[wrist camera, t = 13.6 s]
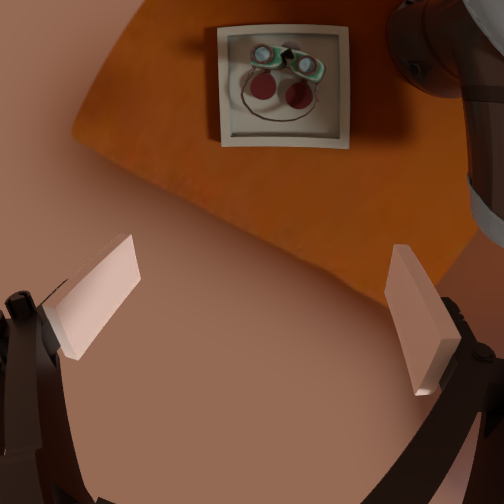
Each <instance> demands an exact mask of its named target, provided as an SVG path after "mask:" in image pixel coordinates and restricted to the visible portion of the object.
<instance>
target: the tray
mask: <svg viewBox="0 0 504 504" xmlns="http://www.w3.org/2000/svg"><path fill="white" fill-rule="evenodd" d="M217 40H218V73H219V100H220V123H221V145H222V147H231V146H292V147H320V148H339V149H349V137H350V56H349V32H348V27H343V26H330V25H310V24H268V25H247V26H234V27H223V28H217ZM288 41H292V42H293V41H294V42H295V43H298V44H299V47H300V48H301V49H300V50H301V52H305V53H308V54H310V55H312V56H316V58H318V59H319V60H321V61H322V62H323V63H324V65H325V66H326V71H325V76H324V77H323V79H322V80H321V82H319V85H318V94H317V96H318V100H319V102H318V100H317V102H316V105H315V108H314V109H313V110H312V111H311V112H310V113H309V114H308V115H307V116H305V117H303V118H300V119H298V120H296V121H290V122H273V121H267V120H263V119H261V118H259V117H256V116H254V115H252V114H251V113H250V112H249V110H248V109H247V108H246V107H245V106H244V104H243V102H242V99H241V96H240V94H241V89H242V86H243V84H244V83H245V81H244V80H245V79H246V78H247V76H248V73H249V72H250V70H251V68H252V65H251V64H250V63H249V61H248V56H249V52H250V49H251V48H252V47H253V46H255V45H257V44H267V45H277V46H281V45H282V44H284V42H288ZM285 59H286V57H285ZM286 61H287V65H286V67H289V63H290V61H291V59H286ZM257 68H258V67H257ZM257 68H256V69H255V71H254V74H253V76H252V77H251V78H250V79H249V80H248V82H247V84H246V85H245V88H244V92H243V97H244V100H245V103H246V104H247V105H248V106H249V107H250V109H251V110H252V111H253V112H254V113H256V114H258V115H260V116H262V117H264V118H269V119H274V120H290V119H296V118H298V117H300V116H303V115H305V114H307V113H308V112H309V111H310V110H311V109H312V108H313V107H314V104H315V101H316V98H315V94H316V93H317V92H315V94H314V89H315V88H316V84H315V83H318V82H315V83H312V82H310V81H307V84H308V85H309V86H310V88H311V90H312V93H313V99H312V102H311V104H310V105H309V106H307V107H306V108H304V109H294V108H292V107H291V106H289V105H288V103H287V102H286V98H285V94H286V91H287V89H288V88H289V87H290V86H291V85H292V84H294V83H297V82H301V80H302V78H301V77H298V76H296V75H295V74H292V71H291V70H290V69H288V68H283V69H282V70H271V72H270V74H271V75H272V76H273V77H274V79H275V81H276V92H275V94H274V96H273V97H271V98H270V99H267V100H259V99H257V98H255V97H254V96H253V95H252V93H251V91H250V84H251V82H252V80H253V79H254V78H255V77H256V76H257V75H258V74H260V73H263V72H265V69H257ZM252 71H253V70H252Z"/></svg>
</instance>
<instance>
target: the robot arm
mask: <svg viewBox="0 0 504 504" xmlns="http://www.w3.org/2000/svg"><path fill="white" fill-rule="evenodd" d="M386 38H387V44H388V48H389V51H390V54H391V56H392V59H393V61H394V62H395V64H396V66H397V67H398V69H399V70H400V72H401V73H402V74H403V75H404V76H405V77H406V79H407V80H408V81H410V82H411V83H412V84H413V85H414V86H416V87H417V88H418V89H420V90H422V91H423V92H425V93H427V94H430V95H433V96H436V97H441V98H461V97H462V99H463V100H462V101H463V109H464V117H465V126H466V137H467V152H468V173H467V181H468V185H469V188H470V209H471V213H472V216H473V218H474V220H475V221H476V223H477V226H478V227H479V228H480V230H481V231H482V232H483V233H484V234H485V235H486V236H487V237H489V238H490V239H491V240H492V241H494V242H495V243H497V244H498V245H500V246H501V247H503V248H504V0H404V1H403V2H401V3H400V4H399V5H398V6H397V7H396V8H395V9H394V10H393V12H392V13H391V15H390V17H389V19H388V23H387V28H386ZM140 279H141V278H140V274H139V269H138V265H137V260H136V255H135V251H134V246H133V241H132V235H131V234H119V235H118V236H116V237H115V238H114V239H113V240H112V241H111V242H109V243H108V244H107V245H106V246H105V247H104V248H103V249H101V250H100V251H99V252H98V253H97V254H96V255H95V256H93V257H92V258H91V259H90V260H89V261H88V262H87V263H85V264H84V265H83V266H82V267H81V268H80V269H79V270H78V271H77V272H75V273H74V274H73V275H72V276H71V277H70V278H69V279H67V280H65V281H64V282H63V283H62V284H61V285H59V286H58V287H57V289H55V290H54V291H53V292H52V294H50V295H49V296H48V297H47V298H46V299H45V300H44V301H43V302H42V303H41V304H40V305H39V306H38V307H37V308H36V306H35V304H34V302H33V299H32V297H31V294H30V292H28V291H19V292H16V293H14V294H13V295H11V296H10V297H9V298H8V299H7V300H6V301H5V305H6V308H7V310H8V312H9V314H10V316H11V319H5V317H4V314H3V312H2V311H1V310H0V504H115V503H112V502H110V501H107V500H105V499H103V498H100V497H98V499H97V501H96V503H95V502H94V500H93V499H92V497H91V496H90V494H89V493H88V491H87V490H86V488H85V485H84V483H83V479H82V476H81V472H80V469H79V465H78V461H77V457H76V453H75V449H74V445H73V441H72V436H71V431H70V426H69V421H68V416H67V410H66V405H65V398H64V392H63V385H62V377H61V368H60V358H59V356H58V353H57V350H58V349H59V348H60V346H61V348H62V350H63V352H64V354H65V356H66V357H69V358H72V359H75V360H79V359H80V357H81V356H82V355H83V354H84V352H85V351H86V349H87V348H88V347H89V345H90V344H91V343H92V341H93V340H94V338H95V337H96V335H98V333H99V332H100V331H101V329H102V328H103V327H104V325H105V324H106V323H107V321H108V320H109V319H110V318H111V316H112V315H113V314H114V312H115V311H116V310H117V309H118V307H119V306H120V305H121V303H122V302H123V301H124V300H125V298H126V297H127V296H128V294H129V293H130V292H131V291H132V290H133V288H134V287H135V286H136V285H137V283H138V282H139V281H140ZM384 293H385V296H386V299H387V302H388V305H389V308H390V311H391V314H392V317H393V320H394V323H395V326H396V330H397V333H398V336H399V339H400V343H401V346H402V349H403V353H404V356H405V360H406V363H407V366H408V370H409V374H410V378H411V382H412V386H413V389H414V393H415V395H425V394H433V393H434V391H435V390H436V388H437V386H438V384H440V387H441V390H442V393H441V394H440V396H439V398H438V399H437V401H436V403H435V404H434V406H433V407H432V409H431V411H430V413H429V414H428V416H427V417H426V419H425V421H424V422H423V424H422V425H421V427H420V428H419V430H418V431H417V433H416V434H415V436H414V437H413V438H412V440H411V442H410V443H409V444H408V446H407V447H406V448H405V450H404V451H403V453H402V454H401V455H400V456H399V458H398V459H397V461H396V462H395V463H394V464H393V466H392V467H391V468H390V470H389V471H388V472H387V473H386V475H385V476H384V477H383V478H382V479H381V481H380V482H379V483H378V484H377V485H376V487H375V488H374V489H373V490H372V491H371V492H370V493H369V495H368V496H367V497H366V498H365V499H364V500H363V502H361V503H360V504H428V503H429V502H430V500H431V499H432V497H433V496H434V494H435V492H436V491H437V489H438V488H439V486H440V485H441V483H442V481H443V480H444V478H445V476H446V474H447V473H448V471H449V469H450V468H451V466H452V464H453V462H454V460H455V458H456V456H457V454H458V453H459V451H460V449H461V447H462V445H463V443H464V441H465V439H466V437H467V435H468V433H469V430H470V428H471V426H472V424H473V422H474V420H475V417H476V415H477V413H478V412H482V414H481V421H480V428H479V434H478V440H477V446H476V451H475V456H474V461H473V465H472V469H471V474H470V477H469V481H468V485H467V489H466V492H465V496H464V499H463V502H462V504H504V359H500V358H496V355H495V353H494V351H493V350H492V349H491V348H490V347H489V346H487V345H486V344H483V343H480V342H477V340H476V338H475V336H474V335H473V333H472V331H471V329H470V327H469V325H468V324H467V322H466V321H465V318H464V316H463V315H462V314H461V311H460V310H459V308H458V306H457V304H455V303H454V302H453V301H452V300H451V299H450V298H448V297H440V296H439V295H438V293H437V291H436V289H435V287H434V286H433V284H432V282H431V280H430V279H429V277H428V275H427V274H426V272H425V270H424V269H423V267H422V265H421V264H420V262H419V261H418V259H417V257H416V256H415V254H414V253H413V251H412V249H411V248H410V246H409V245H403V244H394V247H393V253H392V258H391V263H390V268H389V273H388V278H387V283H386V288H385V292H384ZM5 449H6V452H5ZM4 452H5V455H4Z"/></svg>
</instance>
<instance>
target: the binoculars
mask: <svg viewBox="0 0 504 504" xmlns="http://www.w3.org/2000/svg"><path fill="white" fill-rule="evenodd" d="M300 49H301V48H300V47H299V44H298V43H295V42H294V41H293V42H292V41H288V42H284V44H282V45H281V46H277V45H267V44H257V45H255V46H253V47H252V48H251V49H250V52H249V56H248V61H249V63H250V64H251V65H252V68H251V70H250V72H249V73H248V76H247V78H246V79H245V80H244V81H245V83H244V84H243V86H242V89H241V94H240V96H241V99H242V102H243V104H244V106H245V107H246V108H247V109H248V110H249V112H250V113H251V114H252V115H254V116H256V117H259V118H261V119H263V120H267V121H273V122H290V121H296V120H298V119H300V118H303V117H305V116H307V115H308V114H309V113H310V112H311V111H312V110H313V109H314V108H315V105H316V102H317V100H318V96H317V94H318V85H319V82H321V80H322V79H323V77H324V76H325V71H326V66H325V65H324V63H323V62H322V61H321V60H319V59H318V58H316V56H312V55H310V54H308V53H305V52H301V50H300ZM285 57H286V59H291V61H290V63H289V67H286V65H287V61H286V59H285ZM257 67H258V68H257ZM256 68H257V69H265V72H263V73H260V74H258V75H257V76H256V77H255V78H254V79H253V80H252V82H251V84H250V91H251V93H252V95H253V96H254V97H255V98H257V99H259V100H267V99H270V98H271V97H273V96H274V94H275V92H276V81H275V79H274V77H273V76H272V75H271V74H270V72H271V70H282V69H283V68H288V69H290V70H291V71H292V74H295V75H296V76H298V77H301V78H302V80H301V82H297V83H294V84H292V85H291V86H290V87H289V88H288V89H287V91H286V94H285V98H286V102H287V103H288V105H289V106H291V107H292V108H294V109H304V108H306V107H307V106H309V105H310V104H311V102H312V99H313V93H312V90H311V88H310V86H309V85H308V84H307V81H310V82H312V83H315V82H318V83H315V84H316V88H315V89H314V94H315V92H317V93H316V94H315V98H316V101H315V104H314V107H313V108H312V109H311V110H310V111H309V112H308V113H307V114H305V115H303V116H300V117H298V118H296V119H290V120H274V119H269V118H264V117H262V116H260V115H258V114H256V113H254V112H253V111H252V110H251V109H250V107H249V106H248V105H247V104H246V103H245V100H244V97H243V92H244V88H245V85H246V84H247V82H248V80H249V79H250V78H251V77H252V76H253V74H254V71H255V69H256ZM252 70H253V71H252ZM318 102H319V100H318Z"/></svg>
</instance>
